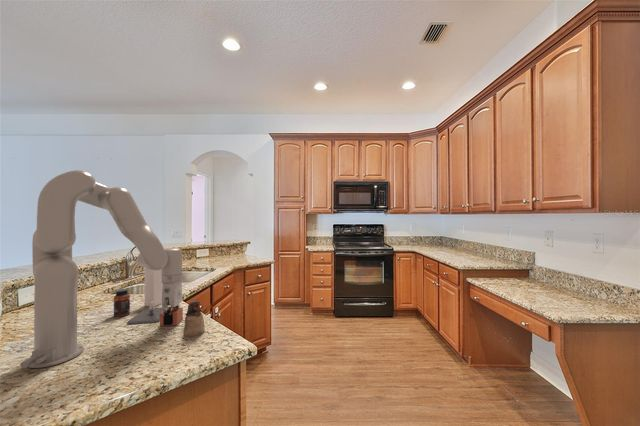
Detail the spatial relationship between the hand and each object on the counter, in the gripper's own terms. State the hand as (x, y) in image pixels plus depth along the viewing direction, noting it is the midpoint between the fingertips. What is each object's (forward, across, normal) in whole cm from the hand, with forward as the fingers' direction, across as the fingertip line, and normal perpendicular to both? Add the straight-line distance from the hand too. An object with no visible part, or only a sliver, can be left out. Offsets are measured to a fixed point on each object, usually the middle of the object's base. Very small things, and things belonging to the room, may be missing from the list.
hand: (171, 320), depth 108 cm
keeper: (+1, +10, +12) cm, 16 cm away
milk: (+1, +27, +18) cm, 33 cm away
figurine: (+1, -12, -12) cm, 17 cm away
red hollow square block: (+1, 0, 0) cm, 1 cm away
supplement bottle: (+1, +14, +26) cm, 29 cm away
